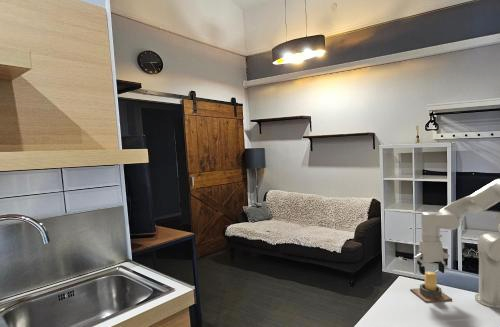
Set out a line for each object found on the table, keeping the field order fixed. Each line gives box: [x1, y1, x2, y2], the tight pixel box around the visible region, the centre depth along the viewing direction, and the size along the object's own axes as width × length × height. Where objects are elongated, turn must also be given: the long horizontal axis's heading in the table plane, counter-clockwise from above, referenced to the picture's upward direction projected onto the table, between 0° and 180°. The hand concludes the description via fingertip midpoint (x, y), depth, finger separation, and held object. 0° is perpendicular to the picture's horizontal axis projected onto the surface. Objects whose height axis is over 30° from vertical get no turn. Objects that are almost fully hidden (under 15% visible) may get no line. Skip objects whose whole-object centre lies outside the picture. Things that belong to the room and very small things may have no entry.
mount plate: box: [410, 283, 453, 303], centre depth 150 cm, size 13×12×4 cm
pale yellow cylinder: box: [424, 271, 438, 291], centre depth 150 cm, size 5×5×10 cm
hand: (431, 272), depth 150 cm, fingers open, 9 cm apart
